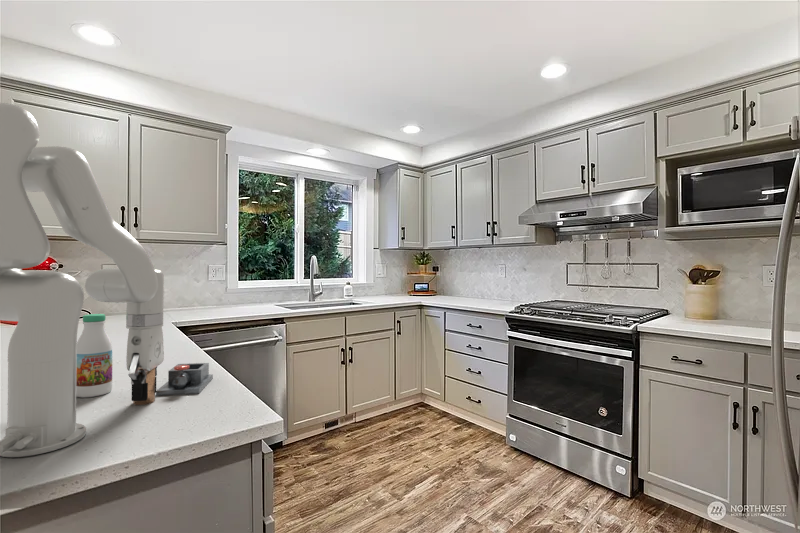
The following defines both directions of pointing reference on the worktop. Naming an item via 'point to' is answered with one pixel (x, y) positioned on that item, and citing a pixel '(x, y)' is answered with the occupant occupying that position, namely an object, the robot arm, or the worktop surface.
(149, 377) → the pipe stub
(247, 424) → the worktop surface
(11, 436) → the robot arm
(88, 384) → the milk bottle
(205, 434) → the worktop surface
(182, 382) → the block
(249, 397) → the worktop surface
